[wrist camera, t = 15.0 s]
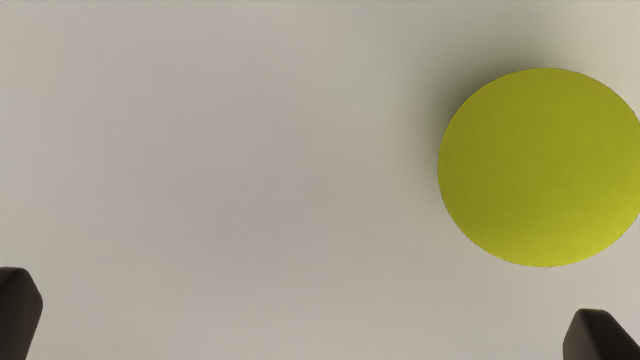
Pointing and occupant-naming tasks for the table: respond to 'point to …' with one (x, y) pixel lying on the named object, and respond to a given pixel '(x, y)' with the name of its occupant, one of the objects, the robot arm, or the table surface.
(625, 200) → the ball
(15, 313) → the robot arm
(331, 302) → the table surface
